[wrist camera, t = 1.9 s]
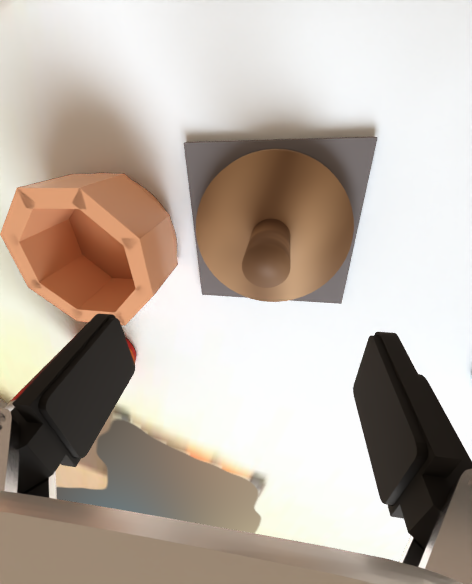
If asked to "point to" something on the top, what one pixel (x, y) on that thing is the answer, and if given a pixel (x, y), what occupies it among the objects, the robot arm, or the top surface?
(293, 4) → the top surface
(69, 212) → the bowl
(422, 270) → the top surface
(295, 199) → the lid
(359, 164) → the mat
